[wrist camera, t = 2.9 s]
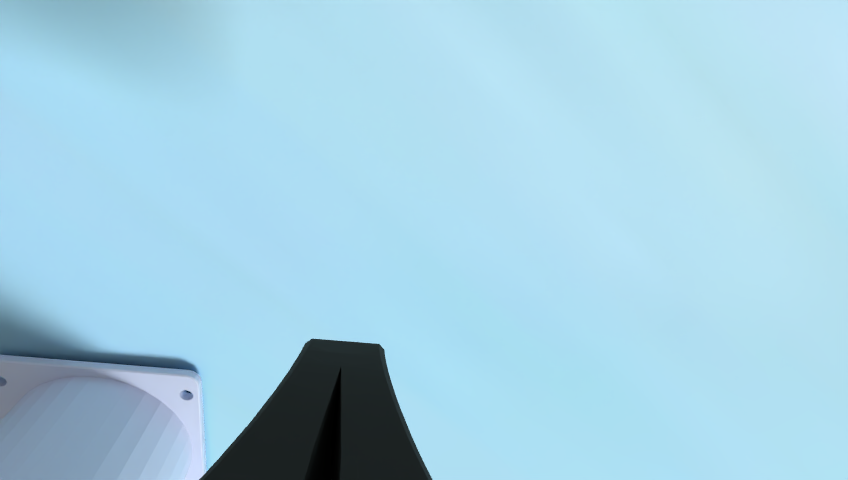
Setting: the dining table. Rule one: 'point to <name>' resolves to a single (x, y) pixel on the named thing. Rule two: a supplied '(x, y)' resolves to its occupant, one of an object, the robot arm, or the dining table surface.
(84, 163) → the dining table surface
